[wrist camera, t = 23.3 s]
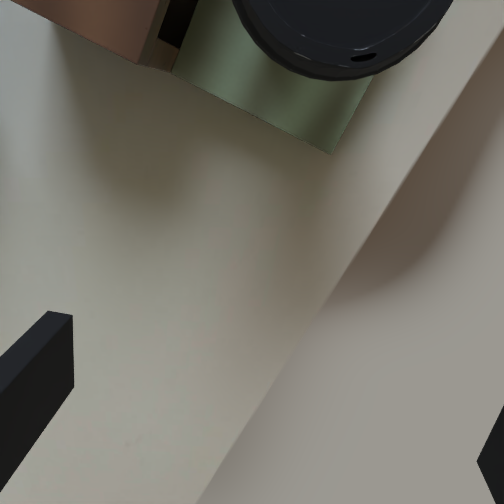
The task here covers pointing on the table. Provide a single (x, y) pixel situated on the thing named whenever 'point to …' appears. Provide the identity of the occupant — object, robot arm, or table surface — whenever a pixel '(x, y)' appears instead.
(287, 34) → the coffee cup
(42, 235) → the table surface
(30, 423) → the robot arm
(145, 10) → the step shelf
